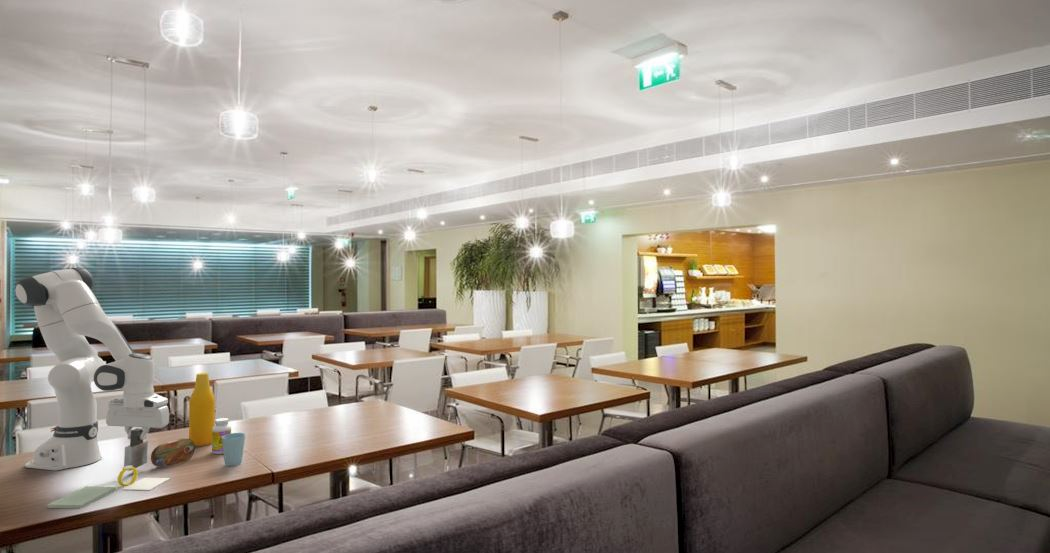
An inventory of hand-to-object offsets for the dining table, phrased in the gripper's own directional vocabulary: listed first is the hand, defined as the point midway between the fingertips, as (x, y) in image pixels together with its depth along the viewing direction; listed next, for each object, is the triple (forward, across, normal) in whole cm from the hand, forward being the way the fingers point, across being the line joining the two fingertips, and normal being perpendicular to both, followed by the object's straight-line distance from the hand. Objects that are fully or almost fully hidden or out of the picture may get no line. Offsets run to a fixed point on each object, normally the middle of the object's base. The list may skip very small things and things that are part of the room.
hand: (136, 439), depth 193 cm
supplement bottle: (+12, +17, +24) cm, 31 cm away
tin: (+12, +7, +10) cm, 17 cm away
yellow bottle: (+12, +3, +34) cm, 36 cm away
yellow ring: (+12, +5, -10) cm, 17 cm away
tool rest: (+12, 0, -22) cm, 25 cm away
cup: (+11, +29, +11) cm, 33 cm away
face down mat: (+12, +11, -10) cm, 19 cm away
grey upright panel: (+10, 0, 0) cm, 10 cm away
